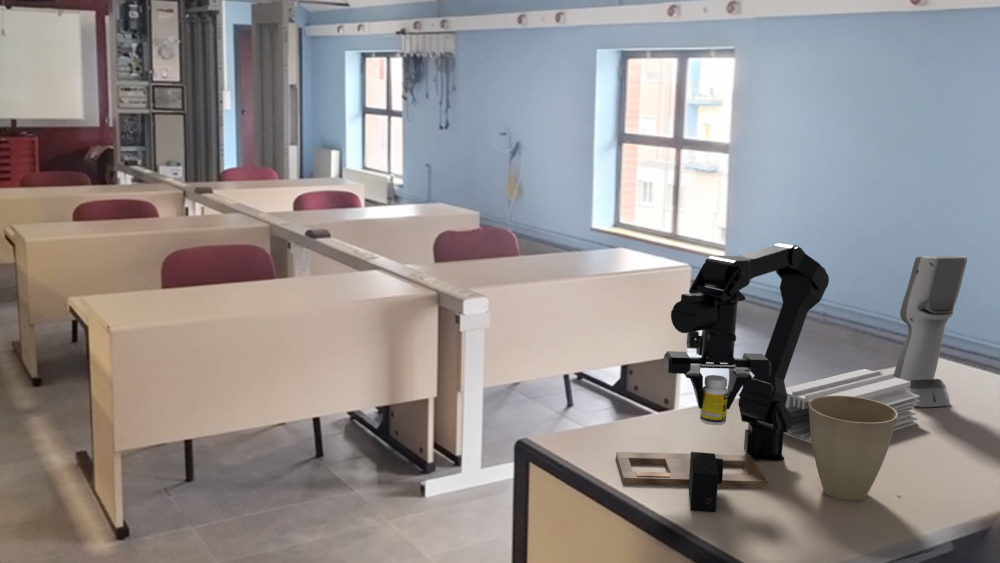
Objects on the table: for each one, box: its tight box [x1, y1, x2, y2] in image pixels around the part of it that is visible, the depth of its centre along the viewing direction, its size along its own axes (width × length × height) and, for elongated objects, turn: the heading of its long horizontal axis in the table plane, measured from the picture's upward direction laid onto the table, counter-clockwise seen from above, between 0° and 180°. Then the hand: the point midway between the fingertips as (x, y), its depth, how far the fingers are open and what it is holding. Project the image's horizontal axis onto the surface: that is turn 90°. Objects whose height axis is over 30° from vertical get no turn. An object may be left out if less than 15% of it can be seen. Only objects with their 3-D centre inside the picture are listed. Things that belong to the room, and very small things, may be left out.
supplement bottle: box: [699, 374, 728, 426], centre depth 185 cm, size 5×5×8 cm
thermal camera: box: [893, 255, 968, 409], centre depth 233 cm, size 12×13×35 cm
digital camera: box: [688, 451, 724, 514], centre depth 175 cm, size 10×5×7 cm, turn 171°
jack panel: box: [615, 451, 769, 489], centre depth 188 cm, size 26×13×1 cm, turn 90°
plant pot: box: [809, 395, 898, 502], centre depth 179 cm, size 15×15×16 cm
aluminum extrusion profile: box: [784, 368, 920, 445], centre depth 215 cm, size 14×31×10 cm, turn 126°
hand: (713, 408), depth 186 cm, fingers closed on supplement bottle, 5 cm apart
